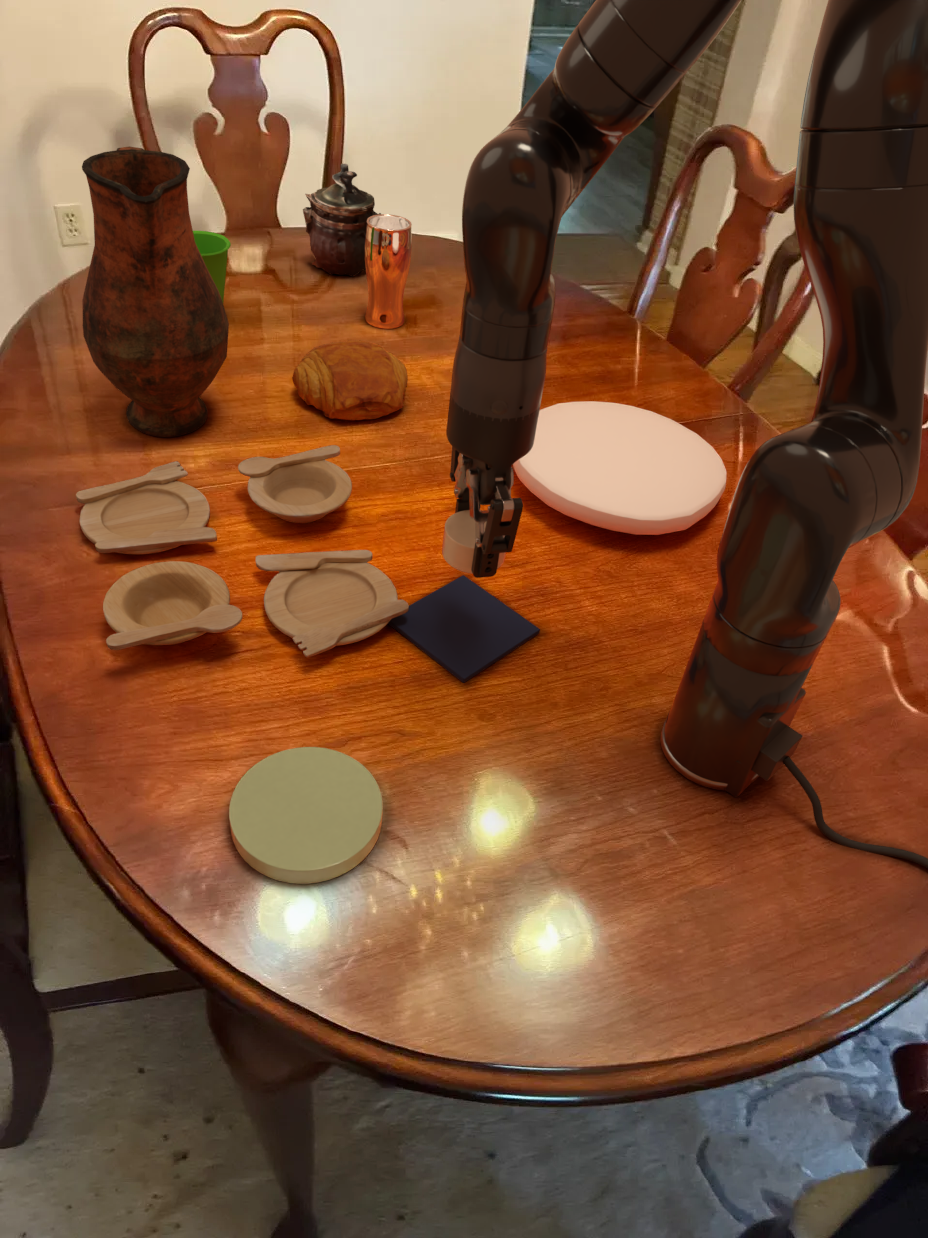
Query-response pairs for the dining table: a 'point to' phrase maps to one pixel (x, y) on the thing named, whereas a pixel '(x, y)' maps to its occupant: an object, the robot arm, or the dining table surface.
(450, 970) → the dining table surface
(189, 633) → the tableware set
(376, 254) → the beer glass
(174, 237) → the pitcher
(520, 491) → the dining table surface
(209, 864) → the dining table surface
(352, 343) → the croissant
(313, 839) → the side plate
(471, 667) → the felt mat
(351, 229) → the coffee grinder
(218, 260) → the cup
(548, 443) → the white thick round disc
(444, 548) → the beige short cylinder
